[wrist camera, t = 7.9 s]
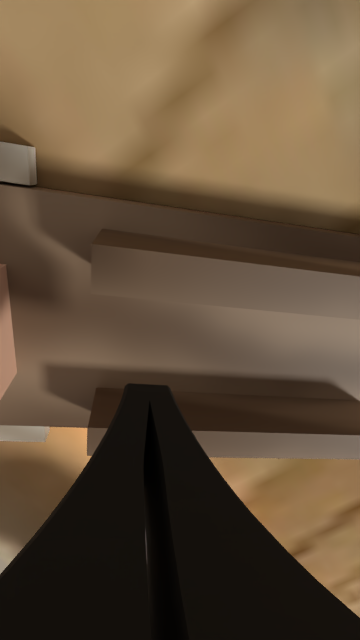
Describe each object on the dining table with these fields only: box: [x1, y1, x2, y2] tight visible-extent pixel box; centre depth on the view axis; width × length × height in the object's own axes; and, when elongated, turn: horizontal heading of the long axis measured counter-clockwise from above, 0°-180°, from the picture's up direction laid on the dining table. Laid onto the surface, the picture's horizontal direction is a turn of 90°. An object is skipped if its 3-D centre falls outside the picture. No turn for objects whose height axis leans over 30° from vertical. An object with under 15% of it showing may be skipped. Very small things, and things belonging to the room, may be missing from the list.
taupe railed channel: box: [0, 142, 360, 459], centre depth 13 cm, size 14×26×4 cm, turn 81°
